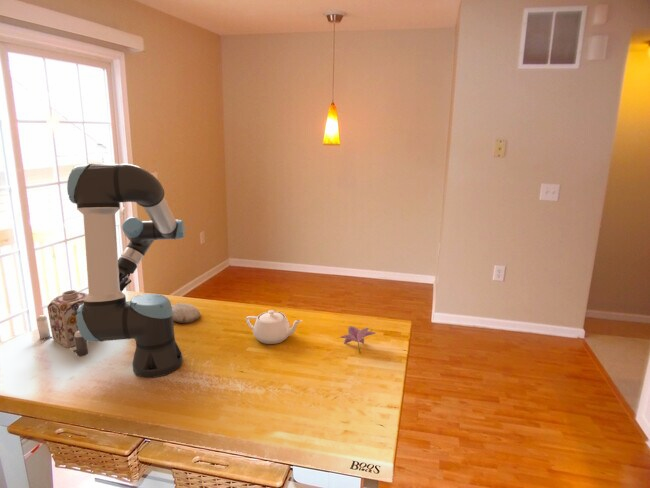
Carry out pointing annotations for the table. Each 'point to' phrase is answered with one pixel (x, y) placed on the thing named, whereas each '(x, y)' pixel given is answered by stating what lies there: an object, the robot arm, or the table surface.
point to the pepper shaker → (80, 344)
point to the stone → (184, 313)
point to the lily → (356, 335)
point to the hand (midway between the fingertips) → (95, 314)
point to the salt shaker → (43, 326)
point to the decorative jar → (65, 316)
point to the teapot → (271, 327)
